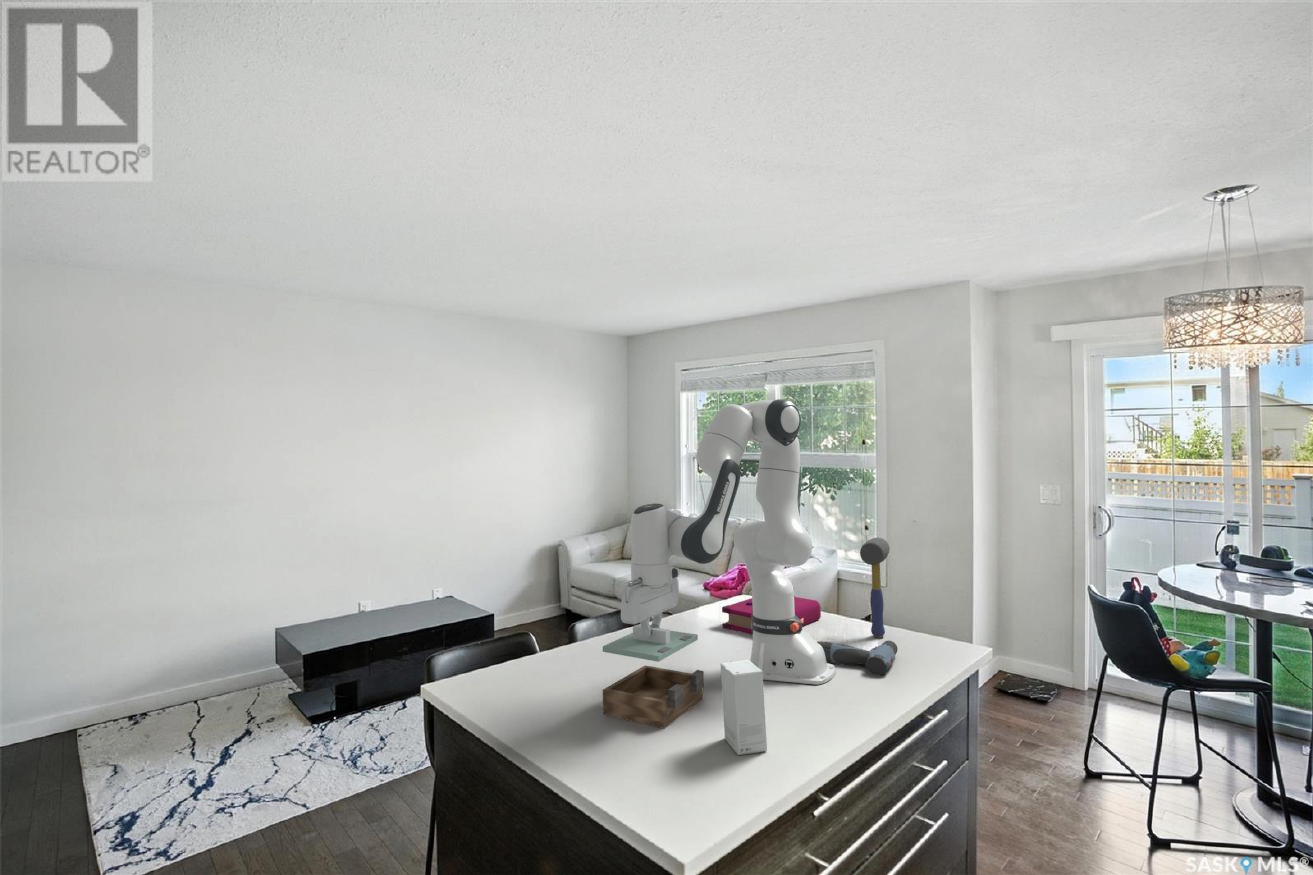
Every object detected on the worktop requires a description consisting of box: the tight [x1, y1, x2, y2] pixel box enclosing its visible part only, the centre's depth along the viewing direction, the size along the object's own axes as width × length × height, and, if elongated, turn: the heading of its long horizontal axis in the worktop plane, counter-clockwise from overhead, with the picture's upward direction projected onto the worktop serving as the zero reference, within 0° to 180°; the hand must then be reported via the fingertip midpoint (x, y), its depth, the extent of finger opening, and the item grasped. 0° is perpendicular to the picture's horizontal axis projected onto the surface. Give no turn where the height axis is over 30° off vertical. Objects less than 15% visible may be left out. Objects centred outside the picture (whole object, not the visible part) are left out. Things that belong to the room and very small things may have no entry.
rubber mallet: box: [859, 537, 890, 639], centre depth 195 cm, size 12×8×30 cm, turn 151°
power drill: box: [816, 640, 898, 677], centre depth 175 cm, size 5×19×20 cm
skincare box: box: [720, 659, 768, 756], centre depth 127 cm, size 8×7×16 cm
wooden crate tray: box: [602, 664, 705, 729], centre depth 147 cm, size 18×18×8 cm
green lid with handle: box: [602, 624, 699, 663], centre depth 148 cm, size 15×18×4 cm
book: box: [721, 596, 822, 635], centre depth 213 cm, size 21×28×8 cm
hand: (651, 634), depth 148 cm, fingers closed on green lid with handle, 2 cm apart
